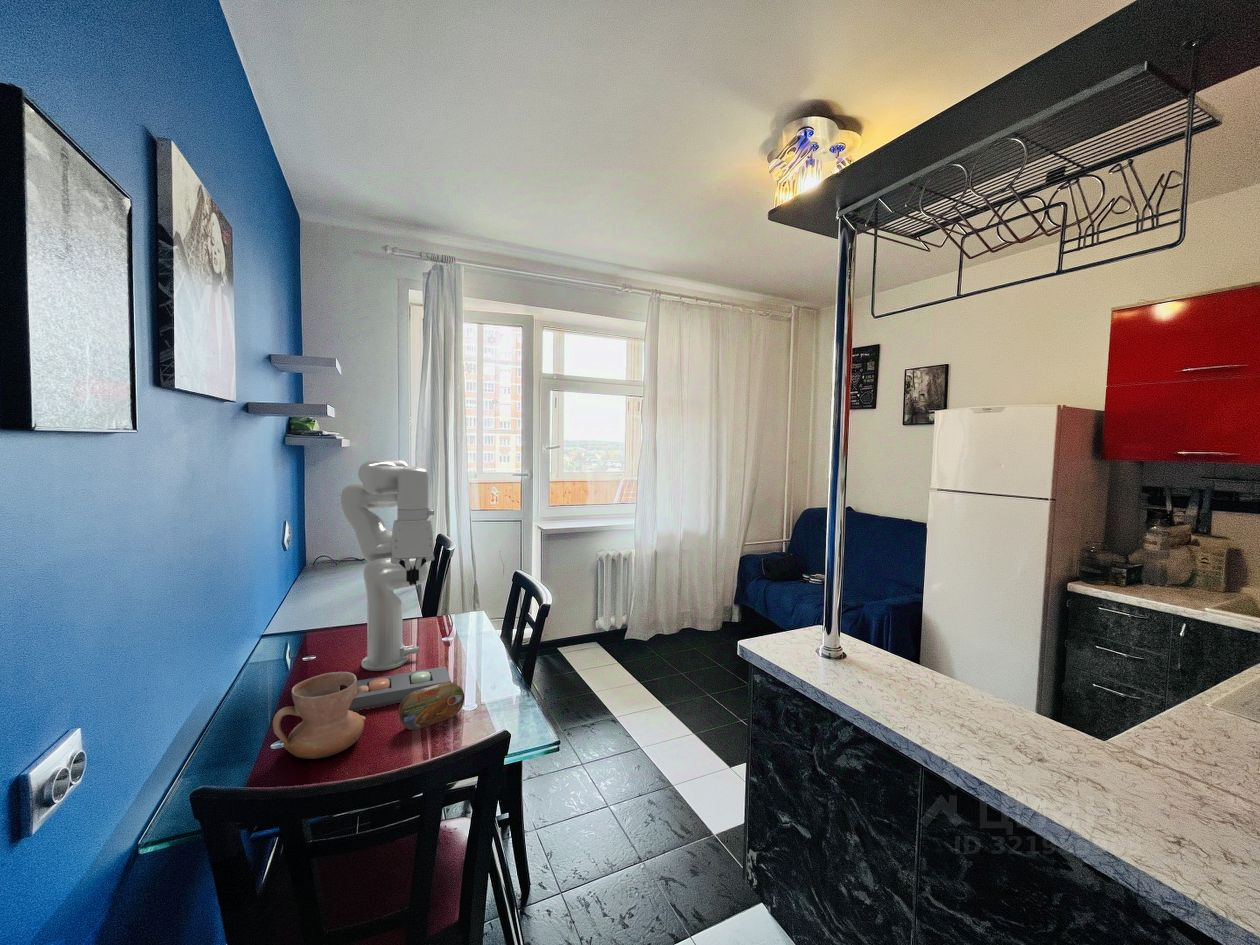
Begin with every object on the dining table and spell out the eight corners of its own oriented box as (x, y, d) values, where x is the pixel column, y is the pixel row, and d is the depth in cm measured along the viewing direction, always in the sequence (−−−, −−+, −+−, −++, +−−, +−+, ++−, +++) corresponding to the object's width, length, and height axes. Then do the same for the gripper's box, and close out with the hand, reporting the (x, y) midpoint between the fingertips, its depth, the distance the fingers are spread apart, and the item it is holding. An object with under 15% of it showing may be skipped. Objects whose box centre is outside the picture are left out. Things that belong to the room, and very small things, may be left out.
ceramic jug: (363, 719, 123) (361, 661, 123) (376, 748, 112) (375, 684, 111) (271, 746, 112) (269, 683, 112) (276, 781, 101) (273, 711, 100)
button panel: (445, 678, 146) (445, 666, 146) (450, 693, 137) (450, 681, 137) (349, 695, 135) (349, 681, 135) (348, 713, 126) (347, 699, 126)
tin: (400, 735, 118) (400, 699, 117) (396, 728, 120) (396, 693, 120) (464, 714, 127) (465, 681, 127) (459, 709, 130) (460, 676, 129)
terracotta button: (389, 687, 137) (389, 676, 137) (389, 695, 133) (389, 684, 132) (368, 691, 135) (368, 680, 135) (369, 699, 130) (369, 688, 130)
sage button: (429, 680, 141) (429, 670, 141) (431, 688, 137) (431, 677, 137) (410, 684, 139) (410, 673, 139) (411, 691, 135) (411, 680, 135)
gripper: (441, 512, 142) (440, 577, 143) (381, 514, 136) (381, 583, 137) (444, 515, 136) (444, 584, 137) (381, 518, 129) (381, 590, 130)
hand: (412, 583), depth 137 cm, fingers closed
